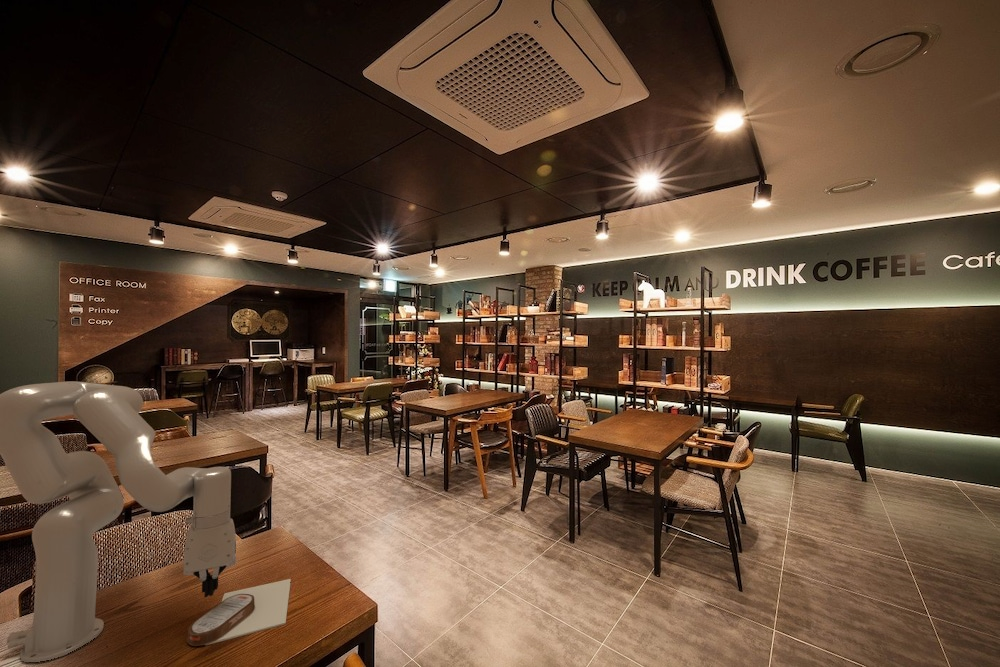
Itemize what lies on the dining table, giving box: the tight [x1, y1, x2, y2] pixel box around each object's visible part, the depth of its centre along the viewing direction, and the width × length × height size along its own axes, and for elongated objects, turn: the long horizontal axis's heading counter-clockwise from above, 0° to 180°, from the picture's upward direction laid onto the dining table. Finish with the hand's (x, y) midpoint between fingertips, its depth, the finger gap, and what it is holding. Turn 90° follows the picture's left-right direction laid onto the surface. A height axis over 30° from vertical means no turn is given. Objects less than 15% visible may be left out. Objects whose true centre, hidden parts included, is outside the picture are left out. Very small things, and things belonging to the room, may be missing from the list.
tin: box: [186, 594, 255, 647], centre depth 93 cm, size 15×3×8 cm
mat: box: [204, 578, 292, 646], centre depth 99 cm, size 16×20×1 cm
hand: (210, 593), depth 95 cm, fingers closed
